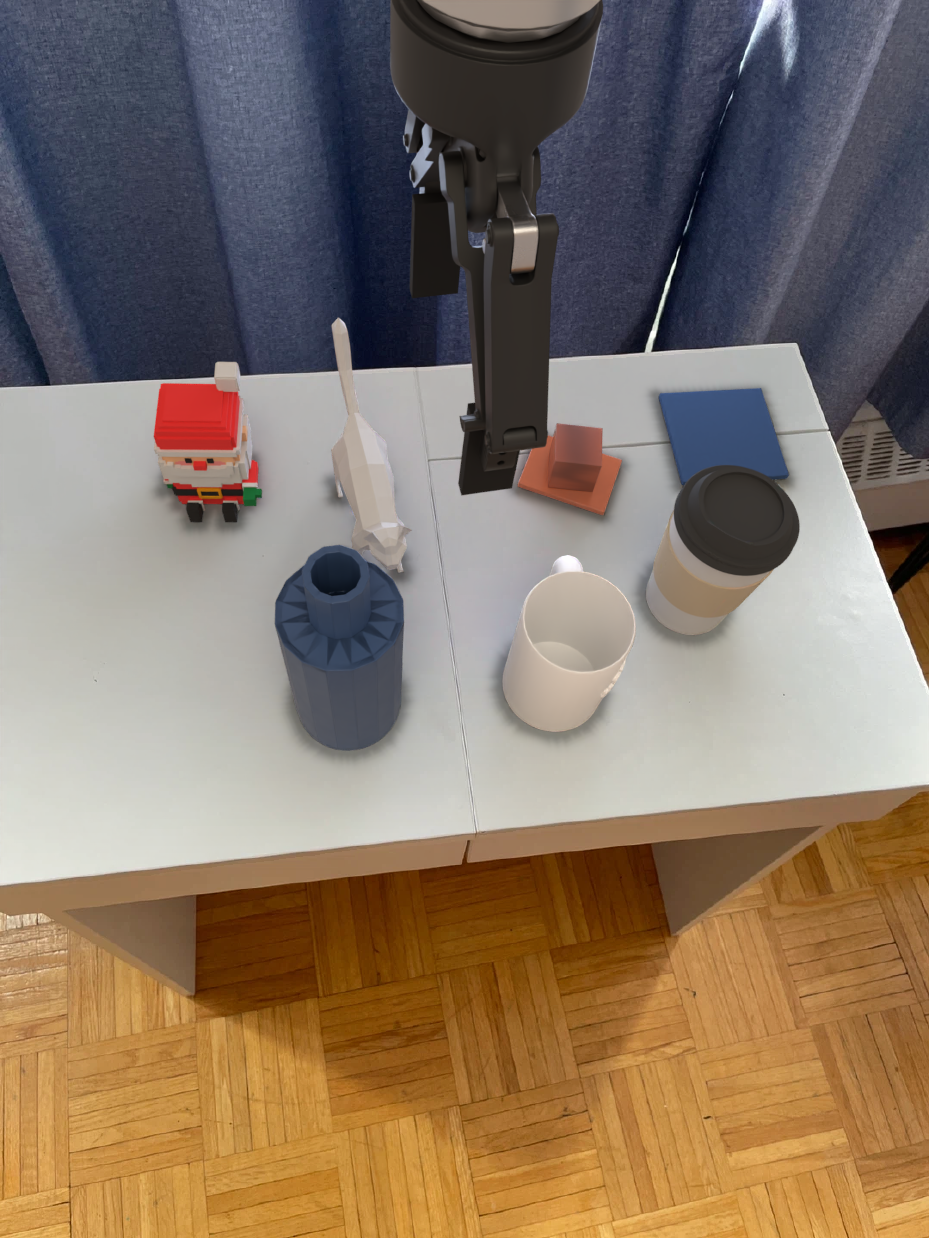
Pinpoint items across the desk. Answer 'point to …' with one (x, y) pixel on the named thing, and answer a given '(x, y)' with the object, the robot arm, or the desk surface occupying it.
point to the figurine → (207, 444)
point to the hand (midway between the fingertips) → (458, 383)
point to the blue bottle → (342, 647)
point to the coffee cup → (719, 546)
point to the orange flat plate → (594, 501)
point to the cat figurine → (365, 472)
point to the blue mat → (722, 431)
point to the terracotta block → (575, 457)
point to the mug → (567, 647)
